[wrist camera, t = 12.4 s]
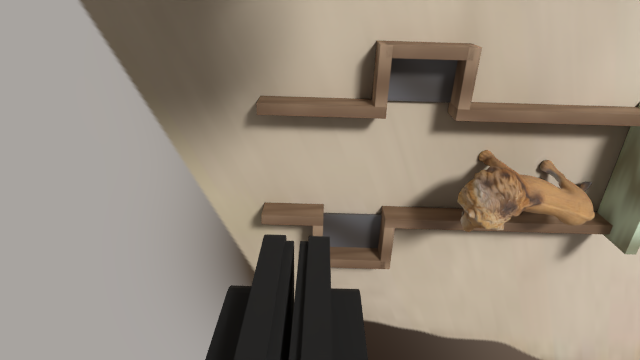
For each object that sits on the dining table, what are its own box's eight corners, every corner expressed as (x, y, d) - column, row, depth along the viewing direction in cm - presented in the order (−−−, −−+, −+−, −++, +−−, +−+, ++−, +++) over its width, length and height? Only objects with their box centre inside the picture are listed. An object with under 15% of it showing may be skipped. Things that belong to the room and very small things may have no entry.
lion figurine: (434, 194, 40) (462, 247, 32) (444, 145, 38) (477, 188, 29) (578, 202, 40) (643, 257, 32) (597, 154, 38) (672, 199, 30)
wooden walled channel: (258, 37, 33) (248, 44, 29) (672, 49, 33) (726, 59, 29) (266, 250, 43) (259, 281, 39) (587, 260, 43) (618, 292, 39)
